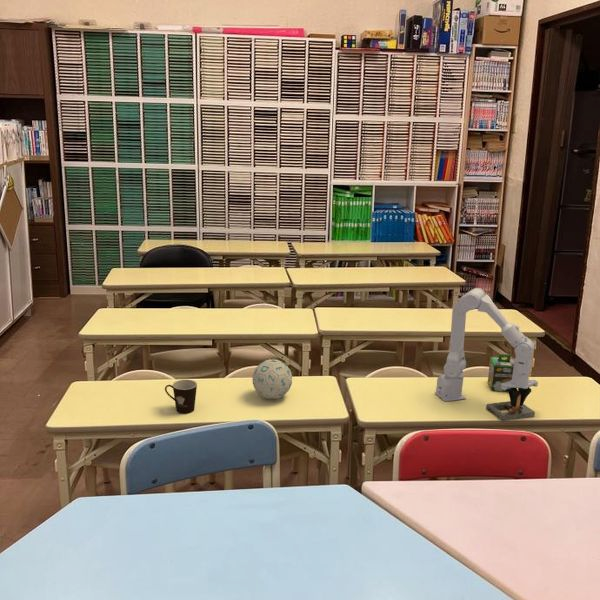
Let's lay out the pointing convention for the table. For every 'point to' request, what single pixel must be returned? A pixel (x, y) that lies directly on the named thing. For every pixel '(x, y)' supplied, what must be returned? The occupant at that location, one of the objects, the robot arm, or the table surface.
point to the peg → (516, 404)
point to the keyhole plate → (517, 414)
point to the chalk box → (500, 371)
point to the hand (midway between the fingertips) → (516, 405)
